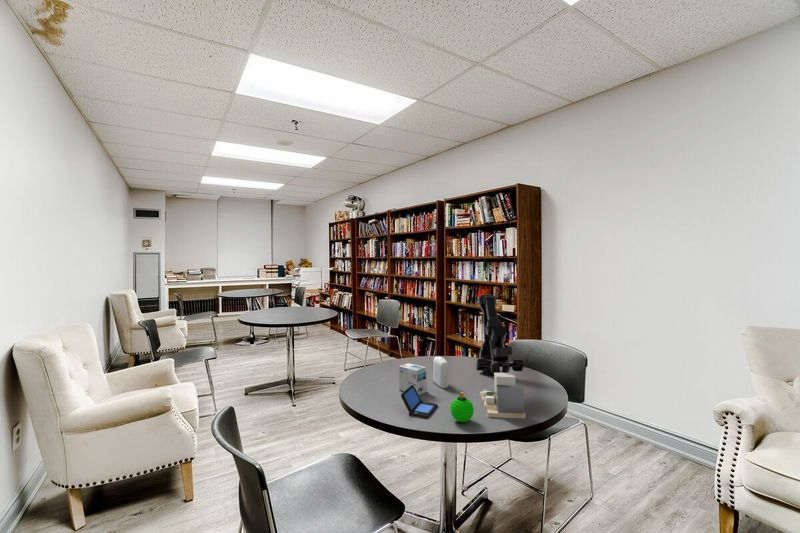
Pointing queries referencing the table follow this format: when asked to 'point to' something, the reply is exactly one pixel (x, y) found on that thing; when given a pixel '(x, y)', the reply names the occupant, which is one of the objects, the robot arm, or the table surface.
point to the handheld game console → (417, 404)
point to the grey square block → (510, 398)
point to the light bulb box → (413, 377)
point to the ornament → (462, 408)
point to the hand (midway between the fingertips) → (502, 384)
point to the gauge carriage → (502, 381)
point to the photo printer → (441, 372)
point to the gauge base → (491, 407)
